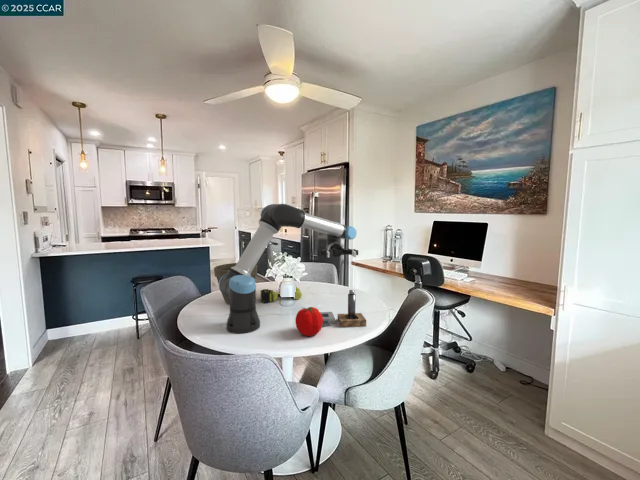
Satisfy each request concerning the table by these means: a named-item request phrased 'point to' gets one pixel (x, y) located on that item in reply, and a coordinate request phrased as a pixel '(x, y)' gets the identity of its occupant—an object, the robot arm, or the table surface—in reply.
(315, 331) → the tomato
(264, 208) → the robot arm
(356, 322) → the frame
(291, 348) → the table surface
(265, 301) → the cordless drill
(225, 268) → the plant pot
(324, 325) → the bar
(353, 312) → the metal bottle
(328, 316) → the socket collar
